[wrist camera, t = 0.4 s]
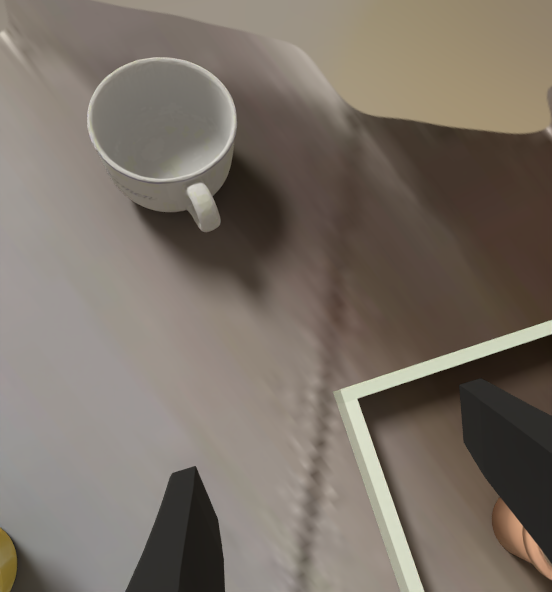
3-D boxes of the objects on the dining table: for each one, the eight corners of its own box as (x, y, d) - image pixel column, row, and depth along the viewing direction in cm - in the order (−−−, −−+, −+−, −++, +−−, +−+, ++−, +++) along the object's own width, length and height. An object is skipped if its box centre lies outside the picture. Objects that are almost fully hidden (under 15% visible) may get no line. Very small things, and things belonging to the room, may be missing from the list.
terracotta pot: (571, 547, 39) (630, 571, 33) (504, 574, 38) (553, 603, 32) (540, 472, 40) (592, 482, 34) (475, 497, 39) (517, 511, 33)
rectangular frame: (723, 597, 38) (763, 611, 36) (444, 720, 35) (462, 747, 32) (588, 307, 43) (614, 300, 40) (332, 391, 40) (340, 389, 37)
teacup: (102, 128, 44) (73, 66, 37) (221, 104, 46) (217, 40, 38) (134, 272, 41) (110, 239, 34) (260, 243, 43) (264, 204, 35)
